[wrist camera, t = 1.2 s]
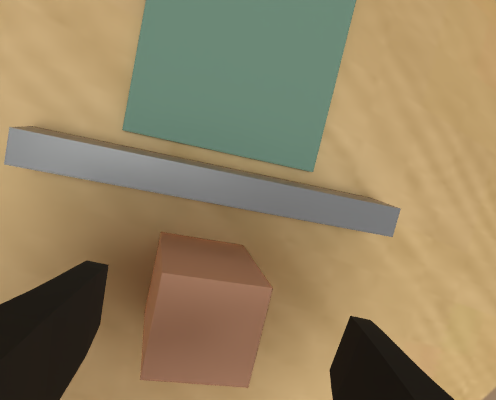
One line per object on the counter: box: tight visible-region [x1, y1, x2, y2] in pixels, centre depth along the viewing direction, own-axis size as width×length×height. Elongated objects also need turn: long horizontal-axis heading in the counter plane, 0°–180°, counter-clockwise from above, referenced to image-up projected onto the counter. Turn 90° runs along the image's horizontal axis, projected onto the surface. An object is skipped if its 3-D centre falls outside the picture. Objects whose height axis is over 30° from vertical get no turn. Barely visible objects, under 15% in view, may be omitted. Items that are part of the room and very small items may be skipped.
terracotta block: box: [140, 232, 273, 388], centre depth 19 cm, size 4×4×6 cm
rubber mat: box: [122, 0, 356, 172], centre depth 20 cm, size 10×10×1 cm
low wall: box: [4, 126, 400, 237], centre depth 20 cm, size 2×18×3 cm, turn 77°
